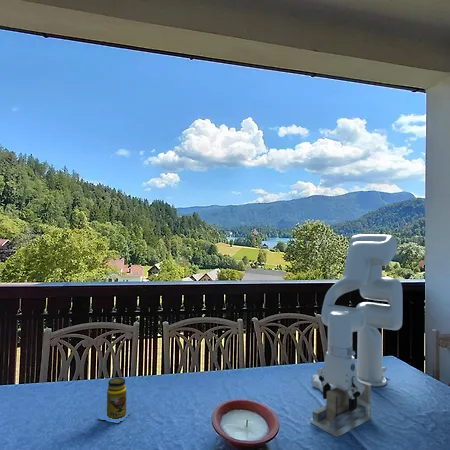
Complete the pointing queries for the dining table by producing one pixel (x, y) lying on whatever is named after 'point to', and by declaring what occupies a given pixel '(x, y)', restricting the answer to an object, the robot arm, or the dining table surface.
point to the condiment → (116, 398)
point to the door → (337, 402)
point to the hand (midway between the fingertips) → (339, 403)
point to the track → (359, 401)
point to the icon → (319, 383)
